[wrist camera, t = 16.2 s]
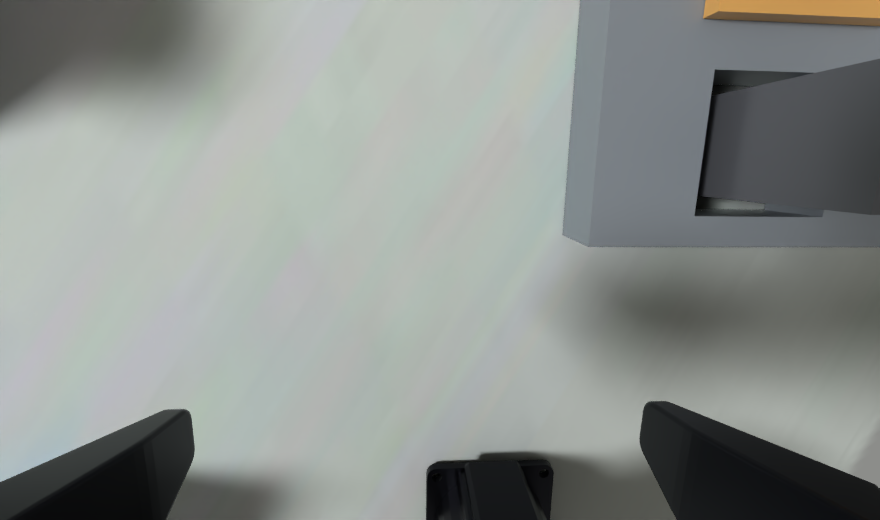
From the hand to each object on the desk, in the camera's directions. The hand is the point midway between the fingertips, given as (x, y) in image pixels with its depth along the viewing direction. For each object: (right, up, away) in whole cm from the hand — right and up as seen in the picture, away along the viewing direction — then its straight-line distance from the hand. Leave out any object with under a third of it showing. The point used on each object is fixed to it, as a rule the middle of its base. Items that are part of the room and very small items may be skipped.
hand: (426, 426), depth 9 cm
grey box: (+13, +8, +11) cm, 19 cm away
